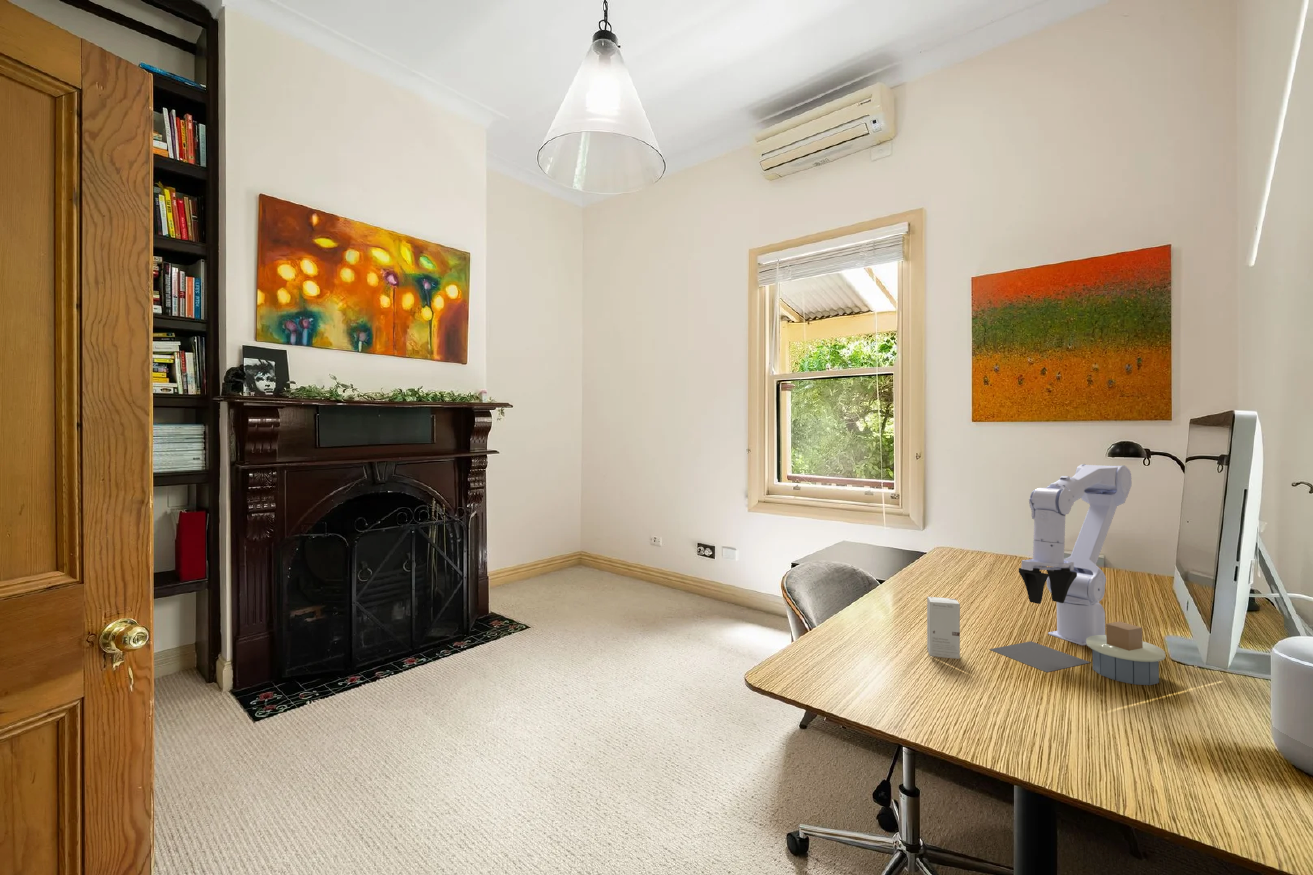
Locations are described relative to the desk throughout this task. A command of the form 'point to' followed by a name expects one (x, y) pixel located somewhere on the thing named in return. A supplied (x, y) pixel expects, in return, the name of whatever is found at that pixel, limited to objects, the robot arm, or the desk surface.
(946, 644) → the skincare box
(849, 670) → the desk surface
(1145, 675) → the bowl
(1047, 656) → the mat
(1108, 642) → the lid
